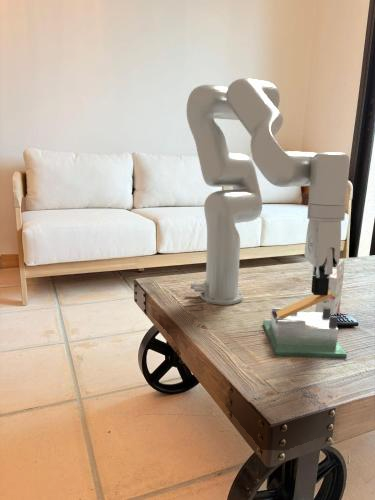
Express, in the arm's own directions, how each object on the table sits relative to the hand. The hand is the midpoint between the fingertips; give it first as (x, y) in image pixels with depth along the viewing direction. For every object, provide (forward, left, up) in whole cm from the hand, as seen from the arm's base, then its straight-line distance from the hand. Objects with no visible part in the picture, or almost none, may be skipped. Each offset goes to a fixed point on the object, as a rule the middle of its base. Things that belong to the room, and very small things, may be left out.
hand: (319, 293), depth 88 cm
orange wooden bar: (-3, +1, -3) cm, 4 cm away
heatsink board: (-3, +1, -12) cm, 12 cm away
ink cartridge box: (+8, +17, -12) cm, 22 cm away
